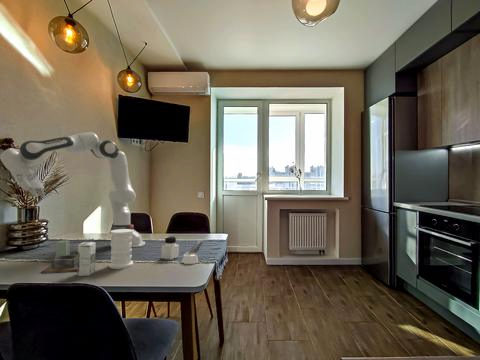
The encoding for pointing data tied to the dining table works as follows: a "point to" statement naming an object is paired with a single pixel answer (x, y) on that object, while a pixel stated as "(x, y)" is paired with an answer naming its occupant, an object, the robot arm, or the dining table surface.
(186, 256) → the inkwell
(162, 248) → the medicine bottle
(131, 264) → the decorative container
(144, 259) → the dining table surface
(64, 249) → the square peg
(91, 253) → the syrup box
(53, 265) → the collar stand
